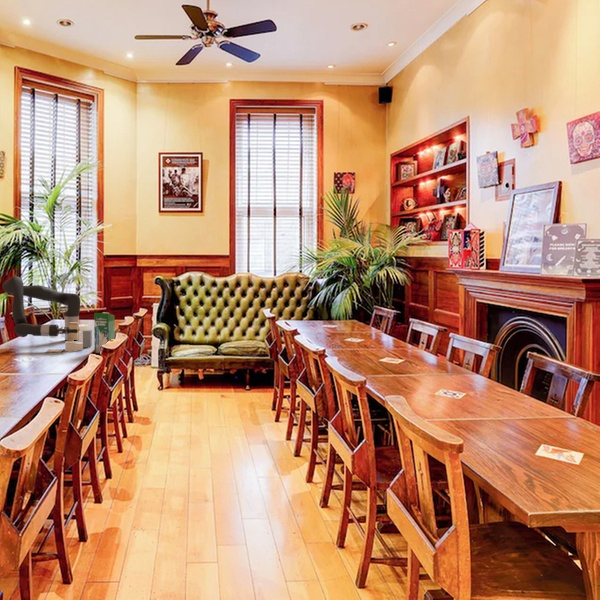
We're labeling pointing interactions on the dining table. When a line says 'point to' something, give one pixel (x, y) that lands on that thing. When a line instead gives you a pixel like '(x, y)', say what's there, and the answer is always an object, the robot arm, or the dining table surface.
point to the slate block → (87, 338)
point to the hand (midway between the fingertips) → (78, 330)
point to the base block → (74, 345)
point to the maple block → (74, 335)
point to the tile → (55, 350)
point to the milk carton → (103, 329)
